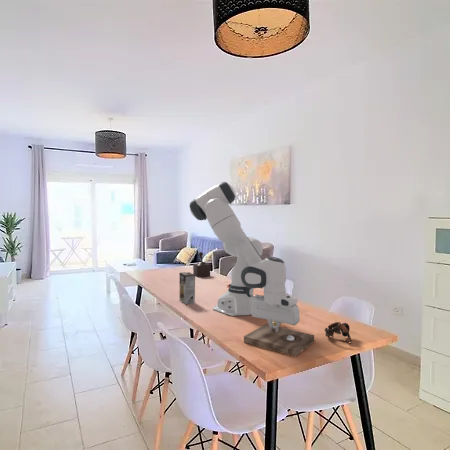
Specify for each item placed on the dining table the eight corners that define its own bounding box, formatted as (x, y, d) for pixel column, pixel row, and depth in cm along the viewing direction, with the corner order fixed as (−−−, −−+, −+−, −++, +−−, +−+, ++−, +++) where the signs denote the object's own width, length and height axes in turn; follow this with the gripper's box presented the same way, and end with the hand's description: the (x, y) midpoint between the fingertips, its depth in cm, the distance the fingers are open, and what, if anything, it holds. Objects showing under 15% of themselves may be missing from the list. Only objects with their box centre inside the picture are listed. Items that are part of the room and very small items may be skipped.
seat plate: (243, 342, 134) (243, 336, 134) (265, 329, 149) (265, 324, 149) (295, 356, 121) (295, 349, 121) (314, 341, 136) (314, 335, 136)
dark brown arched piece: (347, 348, 131) (336, 329, 132) (328, 351, 137) (318, 333, 138) (360, 333, 139) (349, 315, 140) (341, 337, 146) (331, 319, 147)
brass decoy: (269, 329, 142) (269, 320, 142) (273, 326, 145) (273, 318, 145) (276, 330, 140) (277, 322, 140) (280, 328, 143) (280, 320, 143)
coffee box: (178, 300, 196) (179, 272, 195) (189, 299, 198) (189, 271, 198) (184, 304, 187) (184, 275, 187) (195, 303, 190) (195, 274, 190)
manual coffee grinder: (211, 276, 268) (211, 253, 267) (199, 277, 262) (199, 254, 261) (201, 273, 281) (201, 251, 280) (189, 274, 275) (189, 252, 274)
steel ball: (285, 345, 132) (283, 336, 132) (289, 344, 134) (287, 335, 135) (293, 345, 130) (291, 335, 130) (297, 343, 132) (295, 334, 133)
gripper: (248, 295, 140) (248, 328, 140) (295, 303, 128) (294, 339, 129) (255, 292, 145) (255, 324, 146) (301, 299, 133) (300, 334, 134)
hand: (274, 331), depth 137 cm, fingers closed
